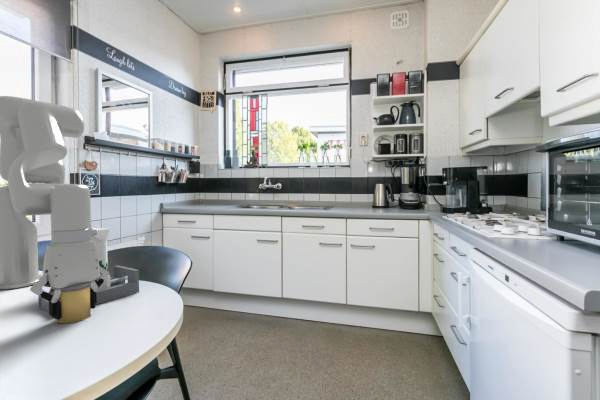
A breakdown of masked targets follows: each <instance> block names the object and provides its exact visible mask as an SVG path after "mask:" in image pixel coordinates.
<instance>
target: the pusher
mask: <svg viewBox="0 0 600 400" xmlns="http://www.w3.org/2000/svg"><path fill="white" fill-rule="evenodd" d="M99 276H100V273H99ZM110 278H111V275H110V274H109V275H108V276H107V278H106V279H105V280H104V282H103V283H102V285H101V286H100V287H99V290H102V289H105V288H109V287H111V286H110V284H111V283H115V282H119V281H123V280H125V281H126V280H128V275H125V277H121V278H117V279H112V280H110Z"/></svg>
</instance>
